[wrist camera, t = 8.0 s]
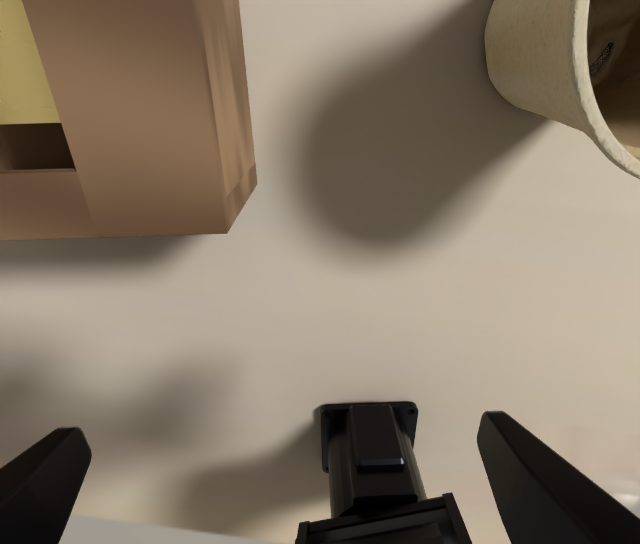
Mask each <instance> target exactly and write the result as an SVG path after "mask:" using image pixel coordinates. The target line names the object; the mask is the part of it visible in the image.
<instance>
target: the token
mask: <svg viewBox="0 0 640 544" xmlns="http://www.w3.org/2000/svg"><path fill="white" fill-rule="evenodd" d="M31 123H61V121H60V118H59V115H58V112H57V109H56V105H55V102H54V99H53V96H52V93H51V90H50V87H49V84H48V81H47V77H46V74H45V71H44V68H43V65H42V62H41V59H40V56H39V52H38V49H37V46H36V43H35V40H34V37H33V34H32V31H31V28H30V24H29V21H28V18H27V15H26V12H25V9H24V6H23V3H22V0H0V124H31Z"/></svg>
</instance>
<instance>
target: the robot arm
mask: <svg viewBox="0 0 640 544" xmlns="http://www.w3.org/2000/svg"><path fill="white" fill-rule="evenodd" d="M410 409H411V410H410ZM327 412H330V413H327ZM417 417H418V408H417V406H416V404H415V403H413V402H395V403H367V404H339V405H325V406H323V407H322V408H321V436H322V468H323V471H324V472H326V473H329V486H330V507H331V518H330V519H325V520H320V521H315V522H309V521H305V522H300V523H299V528H298V534H297V538H296V540H295V544H472V542H471V539H470V537H469V534H468V532H467V529H466V526H465V524H464V521H463V519H462V516H461V514H460V511H459V509H458V506H457V504H456V501H455V499H454V496H453V494H452V492H451V493H446V494H442V496H441V497H436V498H431V499H427V497H426V493H425V490H424V486H423V483H422V480H421V476H420V473H419V469H418V466H417V462H416V459H415V455H414V452H413V446H414V439H415V432H416V424H417ZM477 444H478V448H479V451H480V455H481V458H482V461H483V464H484V467H485V470H486V473H487V476H488V479H489V483H490V486H491V489H492V492H493V495H494V498H495V501H496V504H497V508H498V511H499V513H500V516H501V519H502V522H503V524H504V527H505V529H506V532H507V534H508V537H509V539H510V541H511V544H640V518H638V517H637V516H636V515H635V514H633V513H632V512H631V511H630V510H628V509H627V508H626V507H625V506H623V505H622V504H621V503H619V502H618V501H617V500H616V499H614V498H613V497H612V496H611V495H609V494H608V493H607V492H605V491H604V490H603V489H602V488H600V487H599V486H598V485H597V484H595V483H594V482H593V481H592V480H590V479H589V478H588V477H586V476H585V475H584V474H583V473H581V472H580V471H579V470H578V469H576V468H575V467H574V466H573V465H571V464H570V463H569V462H567V461H566V460H565V459H564V458H562V457H561V456H560V455H559V454H557V453H556V452H555V451H554V450H552V449H551V448H550V447H548V446H547V445H546V444H545V443H543V442H542V441H541V440H540V439H538V438H537V437H536V436H535V435H533V434H532V433H531V432H529V431H528V430H527V429H526V428H524V427H523V426H522V425H521V424H519V423H518V422H517V421H516V420H514V419H513V418H512V417H510V416H509V415H508V414H507V413H505V412H503V411H486V412H484V413H483V415H482V418H481V422H480V426H479V430H478V434H477ZM91 456H92V453H91V449H90V447H89V444H88V442H87V440H86V438H85V436H84V434H83V431H82V430H81V429H80V428H79V427H60V428H57V429H56V430H54V431H52V432H51V433H50V434H48V435H47V436H45V437H44V438H43V439H41V440H40V441H38V442H37V443H36V444H34V445H33V446H31V447H30V448H29V449H27V450H26V451H24V452H23V453H22V454H20V455H19V456H17V457H16V458H14V459H13V460H12V461H10V462H9V463H7V464H6V465H5V466H3V467H2V468H0V544H58V543H59V541H60V539H61V536H62V534H63V531H64V529H65V527H66V525H67V522H68V519H69V517H70V514H71V512H72V509H73V506H74V504H75V501H76V499H77V496H78V493H79V491H80V488H81V485H82V483H83V480H84V478H85V475H86V472H87V470H88V467H89V465H90V462H91Z"/></svg>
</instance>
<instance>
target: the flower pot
mask: <svg viewBox="0 0 640 544" xmlns="http://www.w3.org/2000/svg"><path fill="white" fill-rule="evenodd" d="M484 39H485V52H486V61H487V69H488V75H489V78H490V80H491V82H492V84H493V85H494V87H495V88H496V90H497V91H498V92H499V94H500V95H501V96H502V97H503V98H504V99H505V100H507V101H508V102H509V103H510V104H512V105H514V106H516V107H518V108H521V109H524V110H527V111H530V112H534V113H536V114H539V115H542V116H545V117H547V118H550V119H552V120H555V121H557V122H560V123H562V124H565V125H567V126H570V127H572V128H575V129H578V130H580V131H583V132H584V133H585V134H586V135H588V136H589V137H590V138H591V139H592V140H593V142H594V143H595V144H596V145H597V147H598V148H599V149H600V150H601V151H602V152H603V154H604V155H605V156H606V157H607V158H608V159H609V160H610V161H611V162H613V163H614V164H615V165H616V166H618V167H619V168H620V169H622V170H623V171H625V172H627V173H629V174H630V175H632V176H634V177H636V178H638V179H640V0H494V2H493V4H492V7H491V10H490V13H489V16H488V19H487V23H486V28H485V36H484ZM609 43H612V44H613V45H612V47H611V49H610V51H609V54H608V56H607V58H606V59H605V61H604V62H603V64H602V66H601V67H600V69H599V70H598V71H597V72H596V73H595V74H594V75H590V71H589V70H590V67H591V65H592V64H593V63H594V62H595V61H596V60H597V59H598V57H599V56H600V54H601V53H602V51H603V50H604V48H605V47H606V46H607V44H609Z"/></svg>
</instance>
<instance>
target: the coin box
mask: <svg viewBox="0 0 640 544" xmlns="http://www.w3.org/2000/svg"><path fill="white" fill-rule="evenodd" d="M22 3H23V6H24V9H25V12H26V15H27V18H28V21H29V24H30V28H31V31H32V34H33V37H34V40H35V43H36V46H37V49H38V52H39V56H40V59H41V62H42V65H43V68H44V71H45V74H46V77H47V81H48V84H49V87H50V90H51V93H52V96H53V99H54V102H55V105H56V109H57V112H58V115H59V118H60V121H61V123H31V124H0V240H30V239H63V238H96V237H129V236H162V235H195V234H227V233H228V231H229V229H230V228H231V226H232V224H233V223H234V221H235V219H236V218H237V216H238V215H239V213H240V211H241V210H242V208H243V206H244V205H245V203H246V201H247V200H248V198H249V197H250V195H251V193H252V192H253V190H254V188H255V187H256V185H257V177H256V167H255V157H254V147H253V137H252V128H251V118H250V108H249V98H248V88H247V78H246V69H245V59H244V49H243V39H242V29H241V19H240V10H239V0H22Z"/></svg>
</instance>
